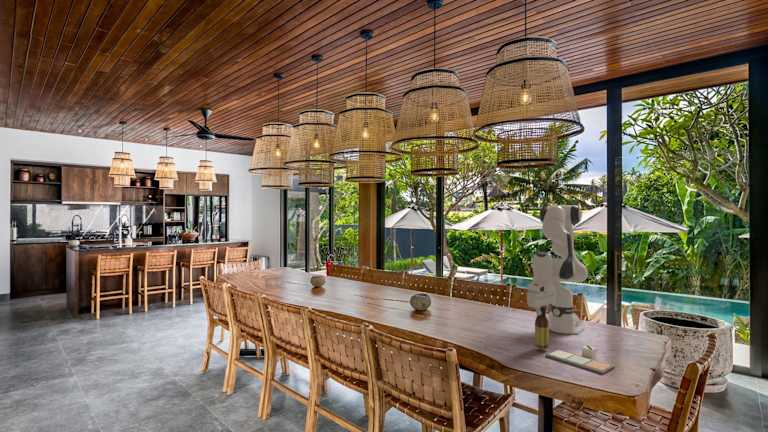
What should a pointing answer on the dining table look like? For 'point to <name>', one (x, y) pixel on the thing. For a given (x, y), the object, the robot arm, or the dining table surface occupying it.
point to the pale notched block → (589, 352)
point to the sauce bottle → (542, 330)
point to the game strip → (580, 361)
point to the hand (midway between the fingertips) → (541, 314)
